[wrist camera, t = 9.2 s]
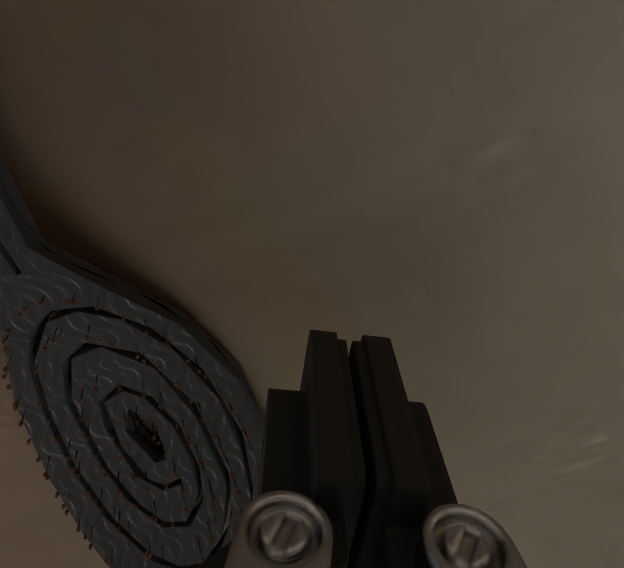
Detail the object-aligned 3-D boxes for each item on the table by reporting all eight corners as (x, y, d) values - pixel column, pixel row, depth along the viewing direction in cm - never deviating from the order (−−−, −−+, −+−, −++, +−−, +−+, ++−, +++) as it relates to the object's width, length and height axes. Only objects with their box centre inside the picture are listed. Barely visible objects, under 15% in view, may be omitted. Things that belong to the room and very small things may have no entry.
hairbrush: (-133, -316, 9) (318, 619, 18) (-11, -214, 12) (318, 531, 22) (-497, -128, 10) (103, 664, 20) (-293, -82, 14) (135, 574, 23)
